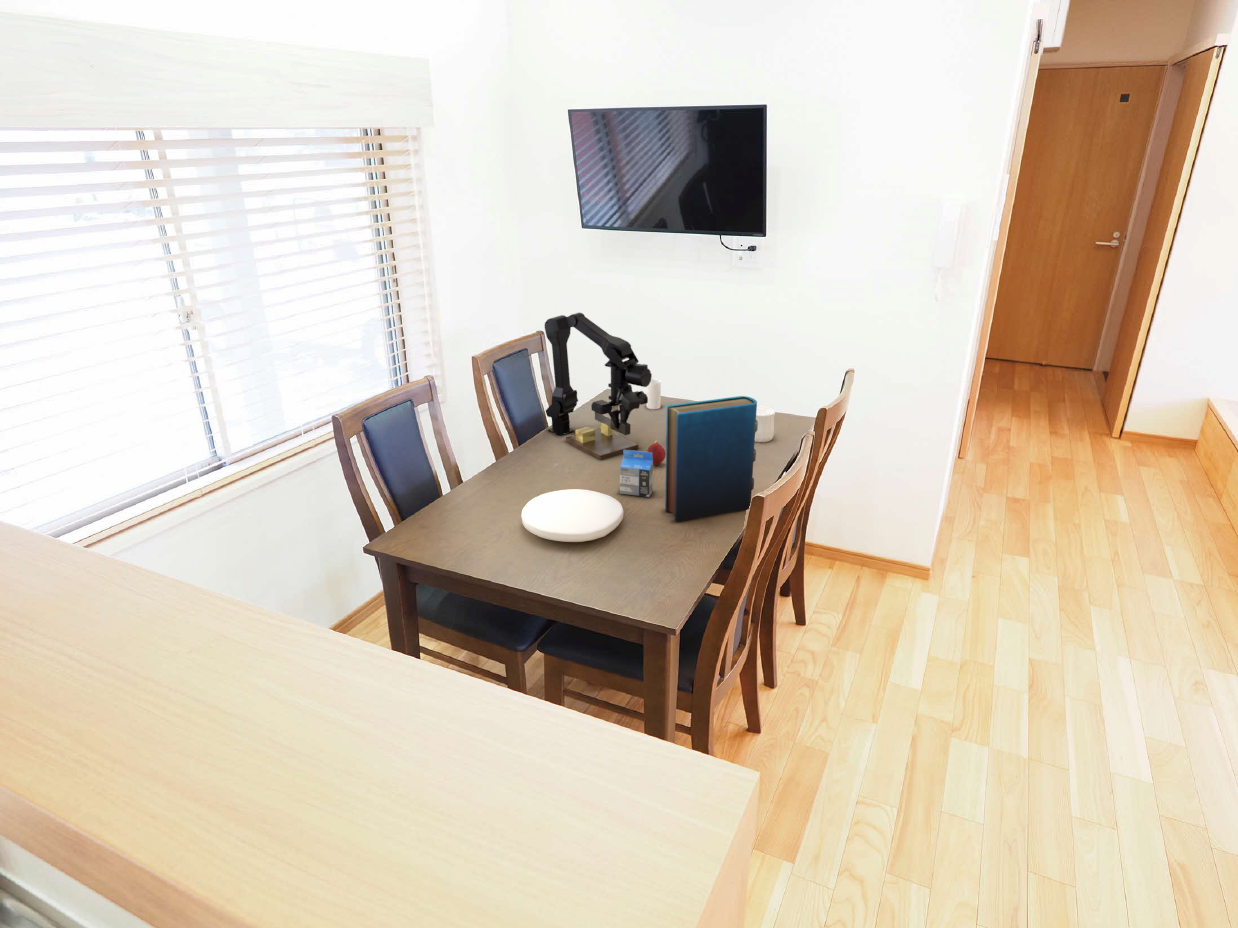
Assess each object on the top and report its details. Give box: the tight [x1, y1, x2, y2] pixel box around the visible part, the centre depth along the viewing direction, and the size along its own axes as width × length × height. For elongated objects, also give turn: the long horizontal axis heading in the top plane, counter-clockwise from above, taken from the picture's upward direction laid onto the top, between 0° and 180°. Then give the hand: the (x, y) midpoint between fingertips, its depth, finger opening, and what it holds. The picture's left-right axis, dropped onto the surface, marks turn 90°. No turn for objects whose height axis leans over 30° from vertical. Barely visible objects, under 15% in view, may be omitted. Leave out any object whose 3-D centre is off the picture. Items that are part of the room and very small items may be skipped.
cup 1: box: [646, 378, 662, 410], centre depth 291 cm, size 5×5×10 cm
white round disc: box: [520, 488, 625, 543], centre depth 205 cm, size 28×6×27 cm
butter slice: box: [600, 422, 614, 436], centre depth 263 cm, size 4×2×4 cm, turn 37°
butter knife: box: [594, 411, 631, 436], centre depth 257 cm, size 18×2×4 cm, turn 37°
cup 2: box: [755, 405, 776, 443], centre depth 261 cm, size 10×10×10 cm
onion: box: [646, 440, 666, 466], centre depth 241 cm, size 6×6×8 cm
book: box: [664, 395, 758, 523], centre depth 209 cm, size 24×9×30 cm, turn 110°
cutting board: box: [564, 426, 639, 461], centre depth 257 cm, size 20×15×5 cm
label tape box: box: [619, 450, 654, 498], centre depth 222 cm, size 9×4×12 cm, turn 73°
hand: (620, 427), depth 254 cm, fingers closed on butter knife, 2 cm apart
